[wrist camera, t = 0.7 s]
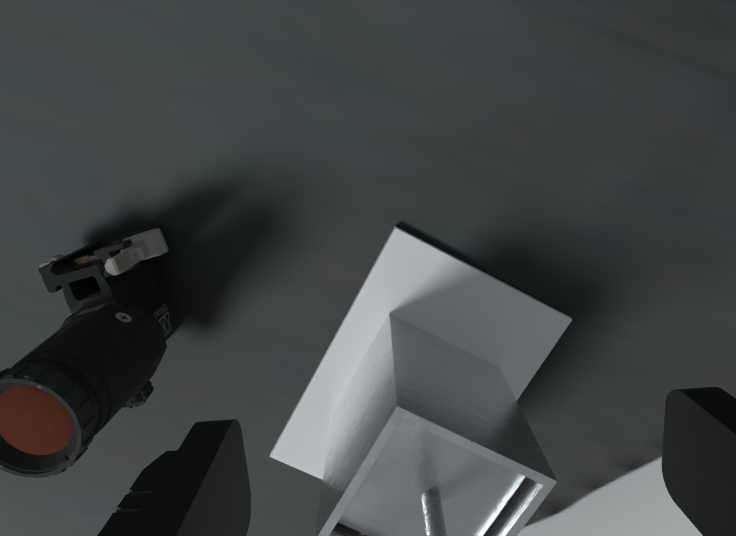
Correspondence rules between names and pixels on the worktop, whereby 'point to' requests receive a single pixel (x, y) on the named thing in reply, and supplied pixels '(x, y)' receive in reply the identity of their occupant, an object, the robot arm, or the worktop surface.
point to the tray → (431, 313)
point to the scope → (86, 355)
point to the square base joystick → (428, 421)
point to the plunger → (429, 489)
